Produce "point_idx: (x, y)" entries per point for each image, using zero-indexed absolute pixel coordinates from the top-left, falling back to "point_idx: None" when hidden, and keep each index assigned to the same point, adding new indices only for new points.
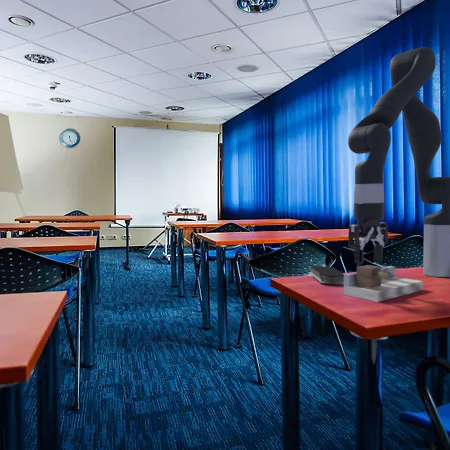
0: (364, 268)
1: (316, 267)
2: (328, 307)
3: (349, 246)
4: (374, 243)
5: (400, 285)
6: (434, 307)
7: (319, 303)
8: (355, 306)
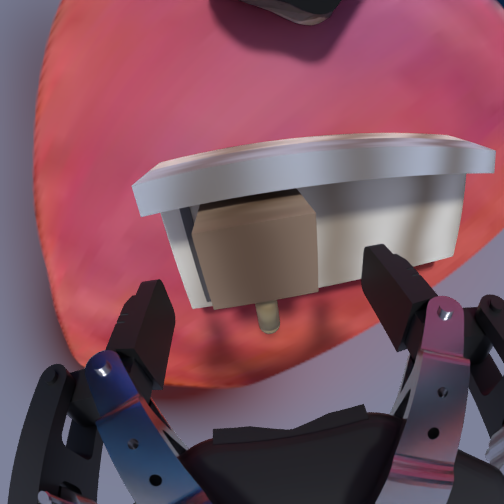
0: (206, 280)
1: None
2: (49, 268)
3: (51, 375)
4: (422, 332)
5: (353, 272)
6: (286, 357)
7: (40, 229)
8: (111, 290)
